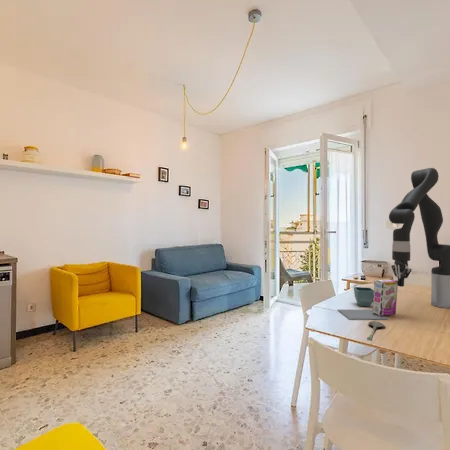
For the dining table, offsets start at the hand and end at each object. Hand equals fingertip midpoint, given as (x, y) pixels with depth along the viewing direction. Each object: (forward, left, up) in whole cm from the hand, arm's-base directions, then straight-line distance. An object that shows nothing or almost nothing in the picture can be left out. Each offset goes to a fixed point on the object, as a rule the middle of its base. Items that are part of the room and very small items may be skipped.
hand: (400, 286), depth 142 cm
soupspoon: (+23, +21, -15) cm, 35 cm away
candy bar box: (+8, 0, -14) cm, 16 cm away
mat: (+19, 0, -14) cm, 24 cm away
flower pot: (+10, -17, -15) cm, 24 cm away
